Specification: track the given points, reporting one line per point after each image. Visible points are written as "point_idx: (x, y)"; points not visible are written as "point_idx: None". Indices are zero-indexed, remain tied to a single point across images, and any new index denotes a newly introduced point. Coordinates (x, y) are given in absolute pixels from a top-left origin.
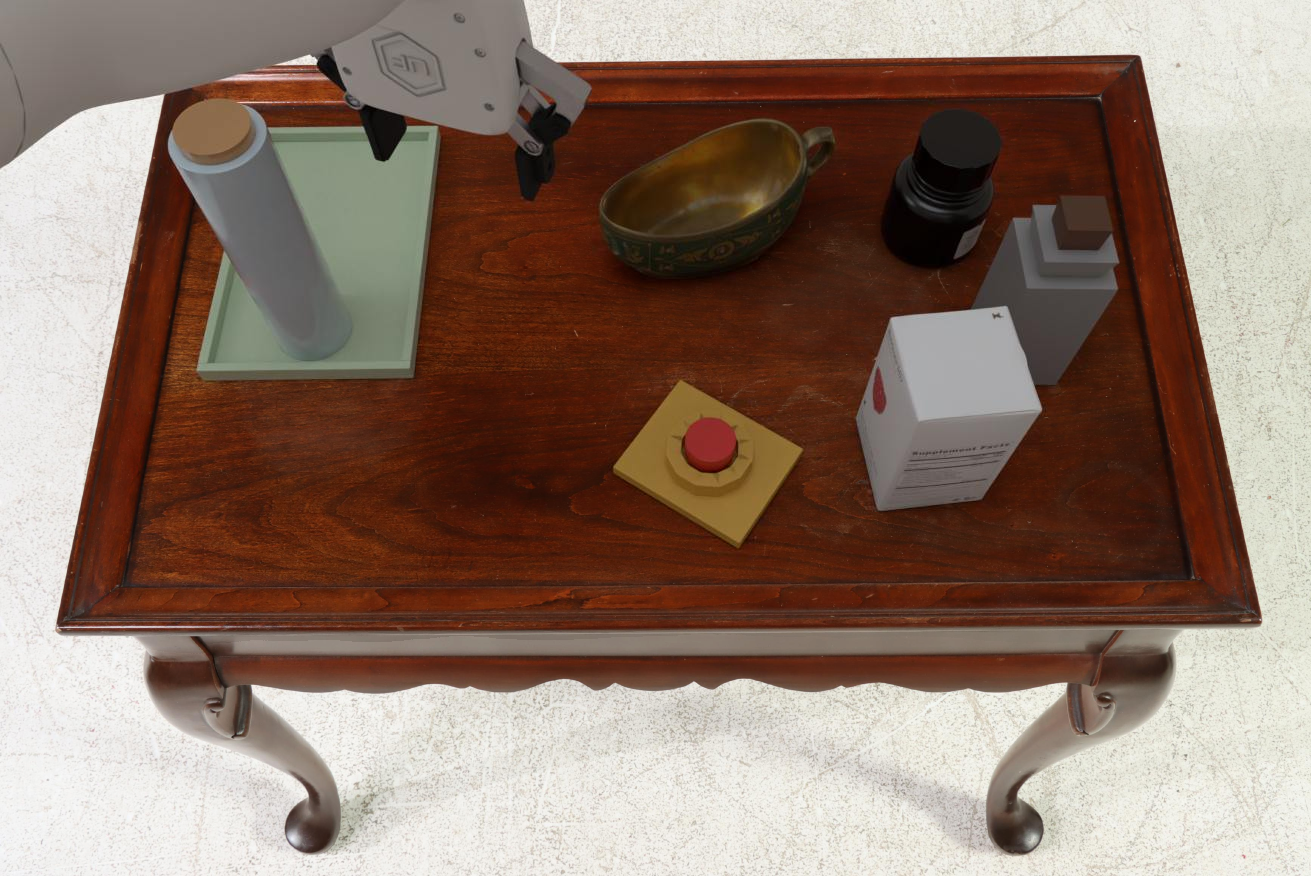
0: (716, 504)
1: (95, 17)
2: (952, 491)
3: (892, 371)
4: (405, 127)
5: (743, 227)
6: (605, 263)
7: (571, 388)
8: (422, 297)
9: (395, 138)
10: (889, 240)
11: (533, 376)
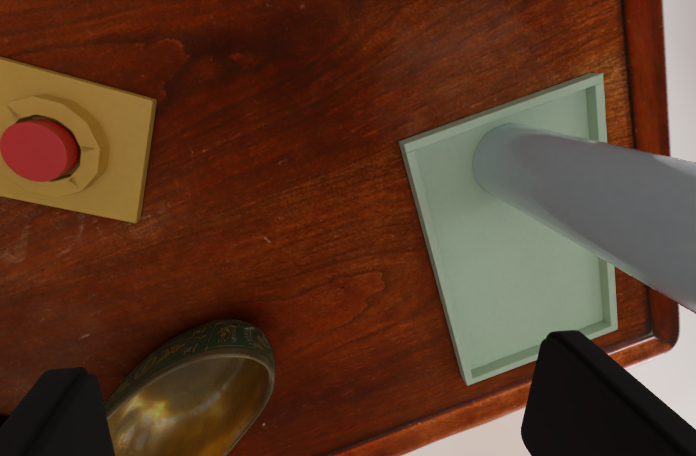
0: (16, 90)
1: None
2: None
3: None
4: (527, 441)
5: (118, 400)
6: (272, 316)
7: (244, 181)
8: (421, 226)
9: (545, 408)
10: None
11: (286, 181)
